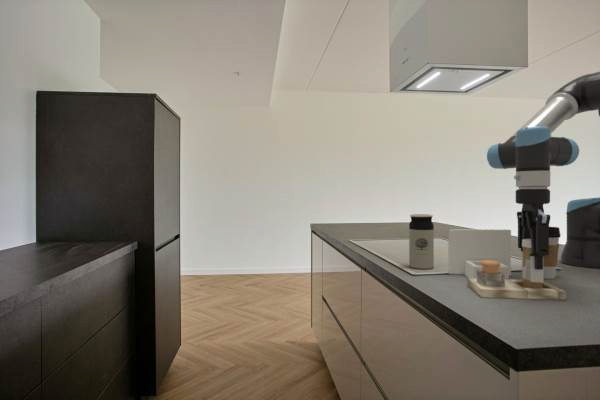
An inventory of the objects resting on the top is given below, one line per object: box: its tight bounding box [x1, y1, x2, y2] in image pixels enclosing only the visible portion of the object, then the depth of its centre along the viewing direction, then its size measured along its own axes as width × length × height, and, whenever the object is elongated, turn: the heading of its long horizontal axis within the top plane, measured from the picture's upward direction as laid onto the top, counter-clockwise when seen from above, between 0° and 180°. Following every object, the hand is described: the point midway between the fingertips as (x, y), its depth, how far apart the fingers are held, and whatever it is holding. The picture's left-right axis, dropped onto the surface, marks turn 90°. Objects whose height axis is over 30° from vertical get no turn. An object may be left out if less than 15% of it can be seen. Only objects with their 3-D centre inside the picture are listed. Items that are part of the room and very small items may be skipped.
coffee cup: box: [543, 226, 562, 280], centre depth 117 cm, size 8×8×15 cm
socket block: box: [467, 270, 567, 301], centre depth 99 cm, size 19×12×5 cm, turn 81°
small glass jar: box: [481, 260, 500, 274], centre depth 100 cm, size 4×4×5 cm
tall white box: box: [447, 228, 512, 279], centre depth 116 cm, size 18×12×14 cm, turn 81°
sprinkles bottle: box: [521, 239, 542, 288], centre depth 99 cm, size 5×5×14 cm
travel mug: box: [408, 213, 435, 270], centre depth 133 cm, size 8×8×18 cm
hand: (532, 279), depth 99 cm, fingers closed on sprinkles bottle, 4 cm apart
